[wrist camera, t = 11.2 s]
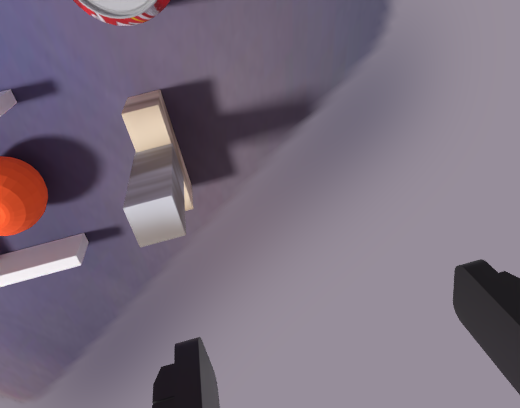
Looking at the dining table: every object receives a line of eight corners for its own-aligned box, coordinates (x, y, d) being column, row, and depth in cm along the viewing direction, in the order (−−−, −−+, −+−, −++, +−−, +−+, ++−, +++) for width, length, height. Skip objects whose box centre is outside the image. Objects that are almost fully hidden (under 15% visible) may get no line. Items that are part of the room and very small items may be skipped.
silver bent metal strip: (126, 97, 38) (102, 161, 25) (161, 89, 38) (154, 147, 25) (162, 192, 43) (156, 284, 30) (192, 184, 43) (199, 272, 30)
